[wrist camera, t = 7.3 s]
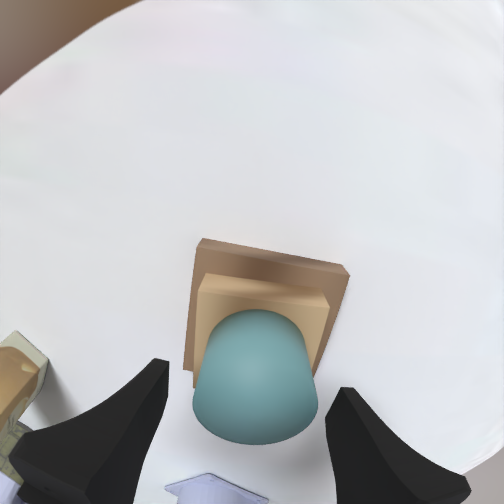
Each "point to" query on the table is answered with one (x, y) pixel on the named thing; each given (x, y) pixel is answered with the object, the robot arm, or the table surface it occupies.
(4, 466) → the thermos
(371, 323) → the table surface
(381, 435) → the robot arm
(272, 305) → the oak block
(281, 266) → the walnut slab
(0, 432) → the skincare box
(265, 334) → the teal cylinder
